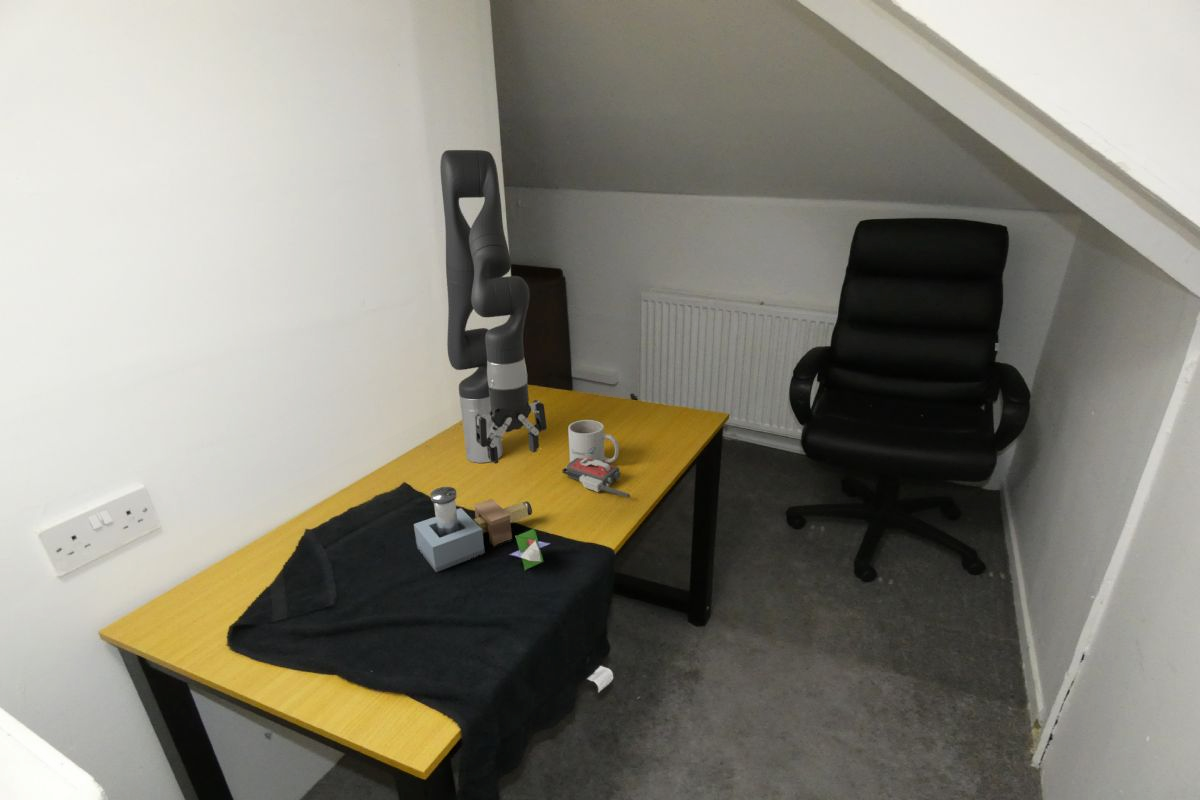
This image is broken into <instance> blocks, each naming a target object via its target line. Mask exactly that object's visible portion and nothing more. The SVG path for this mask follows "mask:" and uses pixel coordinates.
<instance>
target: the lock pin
mask: <svg viewBox="0 0 1200 800" xmlns="http://www.w3.org/2000/svg"><path fill="white" fill-rule="evenodd" d="M503 509H504V510H505V511H506V512H507V513H508V514H509V515H510V523H511V524H512V523H516V522H517V521H520V520H523V519H526V518H529V516H532V514H533V508H532V505H531V504H530V502H529V501H528V500H527V501H521V502H518V503H516V504H513V505H509V506H507V507H504V508H503ZM473 521H474V522H475V523H476V524H477V525H478V526H479V527H480V528H481V529H482V533H483V534H486V533H489V531H488V522H487V521H486V520H485V519H484V518H483V517H482V516H481V517H478V518H476V517H475V518H473Z"/></svg>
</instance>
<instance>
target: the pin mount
mask: <svg viewBox="0 0 1200 800" xmlns="http://www.w3.org/2000/svg"><path fill="white" fill-rule="evenodd" d="M473 507H474V515H475V516H474V517H475V518H478V517H481V516H482V517H483V518H484V519H485V520H486V521H487V522H488V537H489V539H488V540H489V543H490V542H491V543H492V544H493V545H494V546H495V545H497V544H499V543H502V542H504V541H507V540H510V539H512V540H513V535H512V527H511V525H512V523H510V515H509V514H508V513H507V512H506V511H505V510H504V508H503V507H502V506H501V505H500V504H498V503H497V502H496V501H495V500H494V499H493V498H491V499H487V500H484V501H482V502H479V503H476V504H474V505H473ZM510 541H511V540H510ZM491 543H490V544H491ZM492 544H491V545H492ZM493 545H492V546H493ZM494 546H493V547H494ZM497 546H498V545H497ZM495 547H496V546H495Z"/></svg>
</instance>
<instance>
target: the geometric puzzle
mask: <svg viewBox="0 0 1200 800" xmlns="http://www.w3.org/2000/svg"><path fill="white" fill-rule="evenodd" d="M515 541H516V542H515V543H514V544H513V546H512V547H513V548H511V551H513V549H514V548H515V546H516V545H517V546H516V547H517V548H518V550H516V551H514V552H511V553H509V554H508V555H509V556H511V557H512V559H513V560H515V558H513V556H514V557H517V558H519V560H520V562H521V563H522V565H520V564H519V562H517V561H516V560H515V562H516V563H517V564H518V565H519V566H521V568H523V570H524V571H526V570H529V569H532V568H533V567H535V566H537V565H540V564H541V563H544V562H545V559H544V555H545V556H546V554H547V552H548V550H549V547H550V545H551V543H550V542H546V541H541V540H540V539H539V535H538V533H537V529H536V527H533V528H532V529H530V530H527V531H525V532H522V533H519V534H518V535H515ZM546 546H548V547H547V549H546V551H545V552H544V555H543V551H542V548H544V547H546Z"/></svg>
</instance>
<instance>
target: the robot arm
mask: <svg viewBox="0 0 1200 800" xmlns="http://www.w3.org/2000/svg"><path fill="white" fill-rule="evenodd" d="M439 165H440V166H439V167H440V172H439V173H440V181H441V182H440V183H441V194H442V202H443V204H442V206H443V213H444V224H445V225H444V227H445V274H446V275H445V276H446V286H447V287H446V288H447V289H446V290H447V301H448V303H447V304H448V305H447V306H448V319H447V340H446V342H447V343H446V344H447V345H446V346H447V356H448V361H449V364H450V366H451V367H452V368H453V369H454V370H456V371H463V370H470V369H471V370H472V369H476V368H477V369H476V370H475V371H474V372H473V373H471V374H470V375H468V376H467V377H466V378H464V379H462V380H461V381H460V383H459V384H458V393H459V401H460V402H459V404H460V410H461V418H462V428H463V436H464V446H465V455H466V459H467V460H468V461H469V462H472V463H478V464H479V463H480V464H482V463H490V462H491V463H493V464H494V465H497V464H499V459H500V458H501V457H502V456H503V444H502V443H503V442H502V438H503V436H504V434H505V433H510V432H512V431H514V430H515V431H517V430H522V427H524V428H525V429H526V430H527V431H528V433H527V438H528V448H529V450H530V451H531V452H532V453H533V454H534V453H536V452H538V449H539V447H540V445H539V444H540V443H539V442H540V441H539V434H540V432H542V431H545V430H547V427H548V426H547V419H546V418H547V417H546V411H545V404H544V403H543V402H541V401H539V400H538V399H534V400H533V402H531V403H529V398H530V397H529V385H528V383H529V382H528V372H527V365H526V360H525V349H524V347H525V346H524V328H525V324H526V323H525V321H526V318H527V317H526V316H527V314H528V313H527V312H528V308H529V304H530V295H531V294H530V288H529V285H528V284H527V282H526V280H524V278H523V277H521V276H518V275H512V276H511V275H510V276H506V275H507V274H509V272H510V270H511V268H512V260H511V255H510V251H509V247H508V242H507V239H506V236H505V234H506V233H505V230H504V222H503V214H502V213H503V211H502V209H503V208H502V202H501V201H502V200H501V191H500V184H499V183H500V181H499V175H498V167H497V164H496V160H495V158H494V155H493V154H492V153H491V152H490V151H487V150H484V149H483V150H482V149H479V150H478V149H448V150H445V151H443V152H442V154H441V157H440V164H439ZM462 198H463V199H464V198H466V199H467V198H471V199H472V198H480V199H481V198H484V202H483V204H482V207H481V209H480V211H479V213H478V215H477V216H476V218H475V219H474V220H473V223H472V225H471V226H470V225H469V223H468V221H467V219H466V218H465V216H464V213H463V212H462V209H461V206H460V199H462ZM473 310H474V313H476V314H477V315H478V316H480V317H482V318H495V317H496V318H497V317H505V316H507V317H508V316H509V317H508V319H507V321H506V322H504V323H503V324H500V325H497V326H495V327H492V328H487V327H486V328H485V327H482V328H475V329H467V328H466V327H467V324H468V320H469V318H470V316H471V314H472V312H473ZM466 329H467V330H466ZM531 412H532V413H534V420H535V424H533V423H531V421H529V419H528V418H529V415H530V414H531Z"/></svg>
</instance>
